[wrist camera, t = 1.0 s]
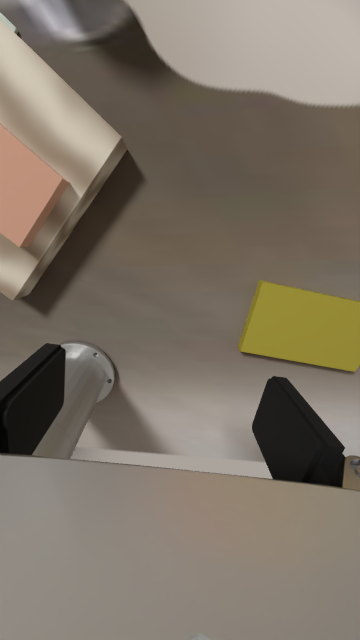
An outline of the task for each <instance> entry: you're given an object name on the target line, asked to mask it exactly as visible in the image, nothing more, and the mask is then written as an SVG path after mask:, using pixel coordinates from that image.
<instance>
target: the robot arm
mask: <svg viewBox="0 0 360 640" xmlns="http://www.w3.org/2000/svg"><path fill="white" fill-rule="evenodd" d="M114 381H115V370H114V367H113V364H112V362H111V361H110V359H109V357H108V356H107V355H106V354H105V353H104V352H103V351H101V350H100V349H99V348H97V347H95V346H93V345H90V344H87V343H83V342H67V343H63V344H60V345H56V344H49V343H46V344H45V345H44V346H42V347H41V348H40V349H39V350H37V351H36V352H35V353H34V354H33V355H31V356H30V357H29V358H28V359H27V360H25V361H24V362H23V363H22V364H21V365H19V366H18V367H17V368H16V369H15V370H13V371H12V372H11V373H10V374H9V375H7V376H6V377H5V378H4V379H3V380H1V381H0V640H360V457H358V456H348V457H345V456H344V455H343V454H342V453H343V451H344V449H345V447H344V446H343V445H342V443H341V442H340V441H339V440H338V439H337V437H336V436H335V435H334V434H333V433H332V431H331V430H330V429H329V428H328V427H327V426H326V424H325V423H324V422H323V421H322V420H321V418H320V417H319V416H318V415H317V414H316V412H315V411H314V410H313V409H312V408H311V406H310V405H309V404H308V403H307V402H306V401H305V399H304V398H303V397H302V396H301V395H300V393H299V392H298V391H297V390H296V389H295V387H294V386H293V385H292V384H291V383H290V381H289V380H288V379H287V378H283V377H276V376H273V377H272V378H271V379H268V381H267V384H266V386H265V389H264V392H263V395H262V398H261V401H260V404H259V407H258V409H257V412H256V415H255V418H254V421H253V424H252V430H253V433H254V436H255V438H256V440H257V443H258V445H259V447H260V450H261V452H262V454H263V457H264V459H265V461H266V464H267V466H268V468H269V471H270V473H271V475H272V478H273V479H266V478H256V477H248V476H238V475H229V474H219V473H210V472H199V471H189V470H180V469H170V468H159V467H150V466H140V465H130V464H119V463H108V462H98V461H86V460H77V459H70V458H71V456H72V453H73V451H74V449H75V447H76V445H77V443H78V441H79V438H80V436H81V434H82V432H83V430H84V428H85V425H86V423H87V421H88V419H89V417H90V415H91V412H92V410H93V408H94V406H95V404H96V403H98V402H100V401H101V400H103V399H104V398H105V397H106V396H108V394H109V393H110V391H111V390H112V387H113V385H114Z"/></svg>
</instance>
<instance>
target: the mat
mask: <svg viewBox="0 0 360 640" xmlns="http://www.w3.org/2000/svg"><path fill="white" fill-rule="evenodd" d="M0 19H1V20H2V21H3V22H4V23H5V24H6V25H7V26H8V27H9V28H10V29H11V30H12V31H13V32H14V33H15V34H16V35H17V33H18V30H17V29H16V27H15V26H14V25H12V24H11V23H10V22H9V21H8V20H7V19H6V18H5V17H4V16H3V15H2V14H1V13H0Z"/></svg>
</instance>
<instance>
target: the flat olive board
mask: <svg viewBox="0 0 360 640" xmlns="http://www.w3.org/2000/svg"><path fill="white" fill-rule="evenodd" d="M238 348H239V350H240V351H241V352H247V353H252V354H258V355H264V356H269V357H275V358H280V359H286V360H291V361H297V362H303V363H308V364H314V365H319V366H325V367H331V368H336V369H342V370H347V371H353V372H355V371H356V369H357V368H358V367H359V365H360V301H355V300H351V299H346V298H341V297H336V296H332V295H327V294H322V293H318V292H313V291H308V290H303V289H299V288H294V287H289V286H285V285H280V284H275V283H270V282H266V281H261V280H259V282H258V285H257V289H256V292H255V295H254V298H253V301H252V304H251V307H250V311H249V314H248V317H247V320H246V323H245V326H244V329H243V333H242V336H241V339H240V342H239V345H238Z"/></svg>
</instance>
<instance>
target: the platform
mask: <svg viewBox="0 0 360 640" xmlns="http://www.w3.org/2000/svg"><path fill="white" fill-rule="evenodd" d="M0 123H1V124H2V125H4V126H5V127H6V128H7V129H8V130H9V131H11V132H12V133H13V134H14V135H15V136H16V137H17V138H19V139H20V140H21V141H22V142H23V143H24V144H26V145H27V146H28V147H29V148H30V149H31V150H33V151H34V152H35V153H36V154H37V155H38V156H40V157H41V158H42V159H43V160H44V161H45V162H46V163H48V164H49V165H50V166H51V167H52V168H53V169H55V170H56V171H57V172H58V173H59V174H60V175H62V176H63V177H64V178H65V179H66V180H67V181H69V182H70V183H69V184H68V186H67V187H66V189H65V191H64V192H63V194H62V195H61V197H60V198H59V200H58V201H57V203H56V205H55V206H54V208H53V209H52V211H51V212H50V214H49V216H48V217H47V219H46V220H45V222H44V223H43V225H42V227H41V228H40V230H39V231H38V233H37V234H36V236H35V238H34V239H33V241H32V242H31V244H30V245H29V247H18V246H17V245H16V244H14V243H13V242H12V241H10V240H9V239H8V238H6V237H5V236H4V235H2V234H1V233H0V292H1V293H2V294H4V295H5V296H7V297H8V298H10V299H11V300H13V301H14V300H16V299H19V298H21V297H24V296H26V295H29V294H30V292H31V291H32V289H33V288H34V286H35V285H36V284H37V282H38V281H39V279H40V278H41V276H42V275H43V273H44V272H45V270H46V269H47V267H48V266H49V264H50V263H51V261H52V260H53V258H54V257H55V255H56V254H57V253H58V251H59V250H60V248H61V247H62V245H63V244H64V242H65V241H66V239H67V238H68V236H69V235H70V233H71V232H72V230H73V229H74V227H75V226H76V225H77V223H78V222H79V220H80V219H81V217H82V216H83V214H84V213H85V211H86V210H87V208H88V207H89V205H90V204H91V202H92V201H93V199H94V198H95V196H96V195H97V194H98V192H99V191H100V189H101V188H102V186H103V185H104V183H105V182H106V180H107V179H108V177H109V176H110V174H111V173H112V171H113V170H114V168H115V167H116V165H117V164H118V163H119V161H120V160H121V158H122V157H123V155H124V154H125V152H126V151H127V147H126V145H125V143H124V141H123V139H122V137H121V136H120V135H119V134H118V133H117V132H116V131H115V130H114V129H113V128H112V127H111V126H110V125H109V124H108V123H107V122H106V121H105V120H104V119H103V118H102V117H101V116H99V115H98V114H97V113H96V112H95V111H94V110H93V109H92V108H91V107H90V106H89V105H88V104H87V103H86V102H85V101H84V100H83V99H82V98H81V97H80V96H79V95H78V94H77V93H76V92H75V91H74V90H73V89H72V88H71V87H70V86H69V85H68V84H67V83H66V82H65V81H64V80H63V79H61V78H60V77H59V76H58V75H57V74H56V73H55V72H54V71H53V70H52V69H51V68H50V67H49V66H48V65H47V64H46V63H45V62H44V61H43V60H42V59H41V58H40V57H39V56H38V55H37V54H36V53H35V52H34V51H33V50H32V49H31V48H30V47H29V46H28V45H27V44H26V43H25V42H23V41H22V40H21V39H20V38H19V37H18V36H17V35H16V34H15V33H14V32H13V31H12V30H11V29H10V28H9V27H8V26H7V25H6V24H5V23H4V22H3V21H2V20H1V19H0Z"/></svg>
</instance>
